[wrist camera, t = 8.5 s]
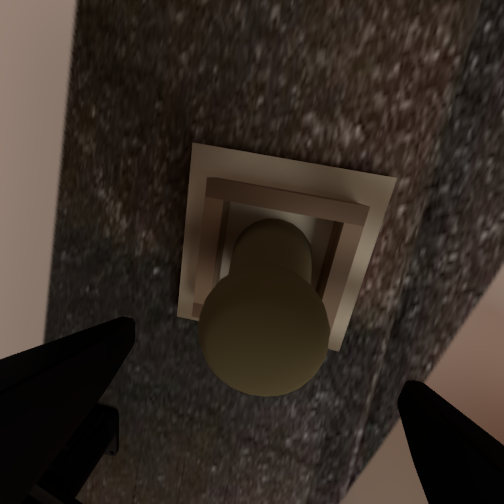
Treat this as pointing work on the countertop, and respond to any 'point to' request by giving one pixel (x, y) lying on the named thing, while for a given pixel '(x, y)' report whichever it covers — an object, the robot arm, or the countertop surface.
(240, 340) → the cork
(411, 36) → the countertop surface
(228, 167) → the socket board
